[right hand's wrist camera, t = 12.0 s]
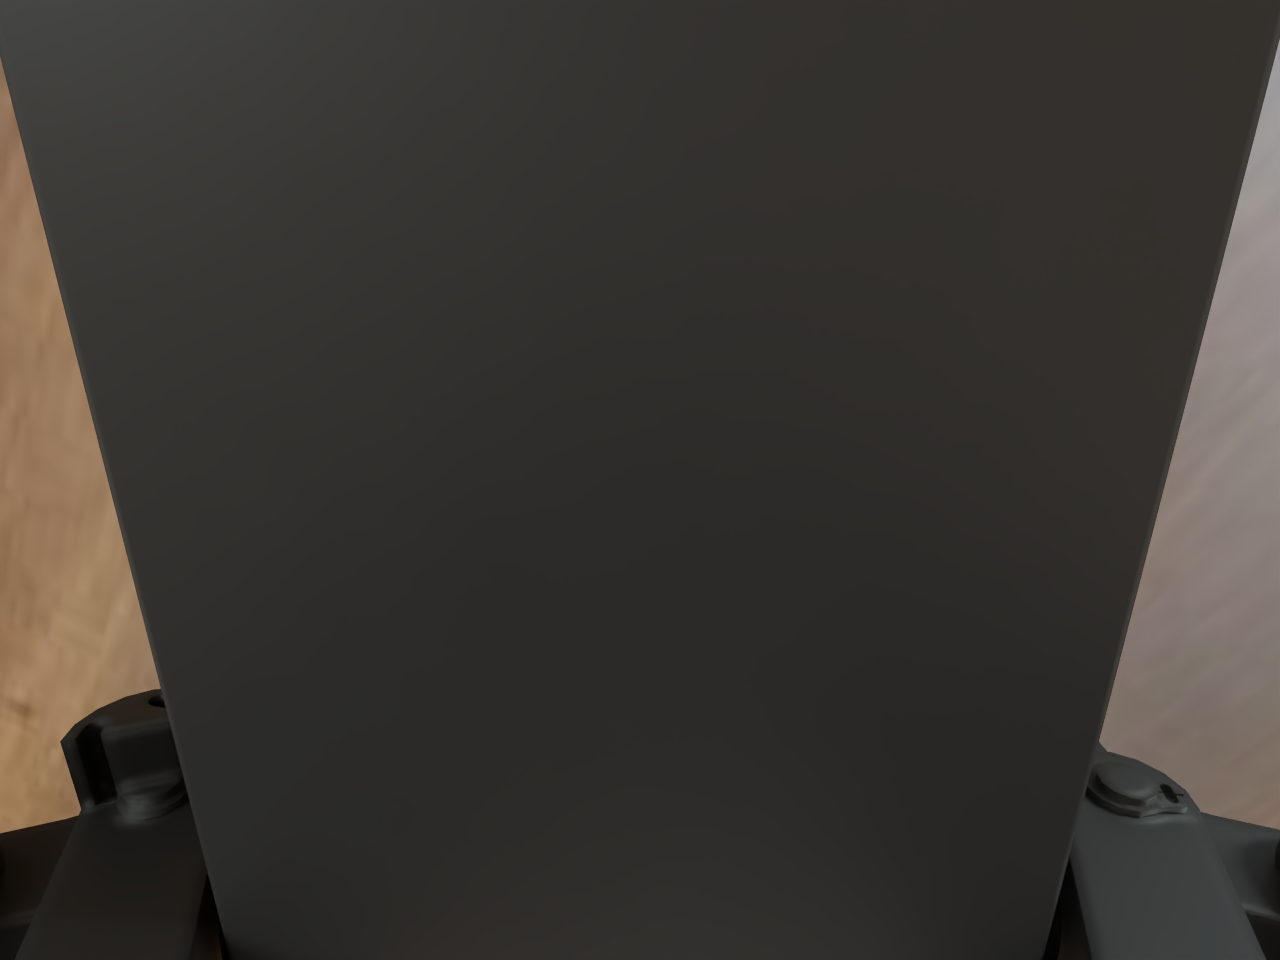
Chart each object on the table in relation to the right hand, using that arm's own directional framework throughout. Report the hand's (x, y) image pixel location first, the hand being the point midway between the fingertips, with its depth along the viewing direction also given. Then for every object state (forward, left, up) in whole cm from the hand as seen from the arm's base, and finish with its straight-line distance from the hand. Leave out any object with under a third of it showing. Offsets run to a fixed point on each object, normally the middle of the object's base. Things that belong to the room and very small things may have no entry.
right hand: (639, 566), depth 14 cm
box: (+8, +6, -1) cm, 11 cm away
